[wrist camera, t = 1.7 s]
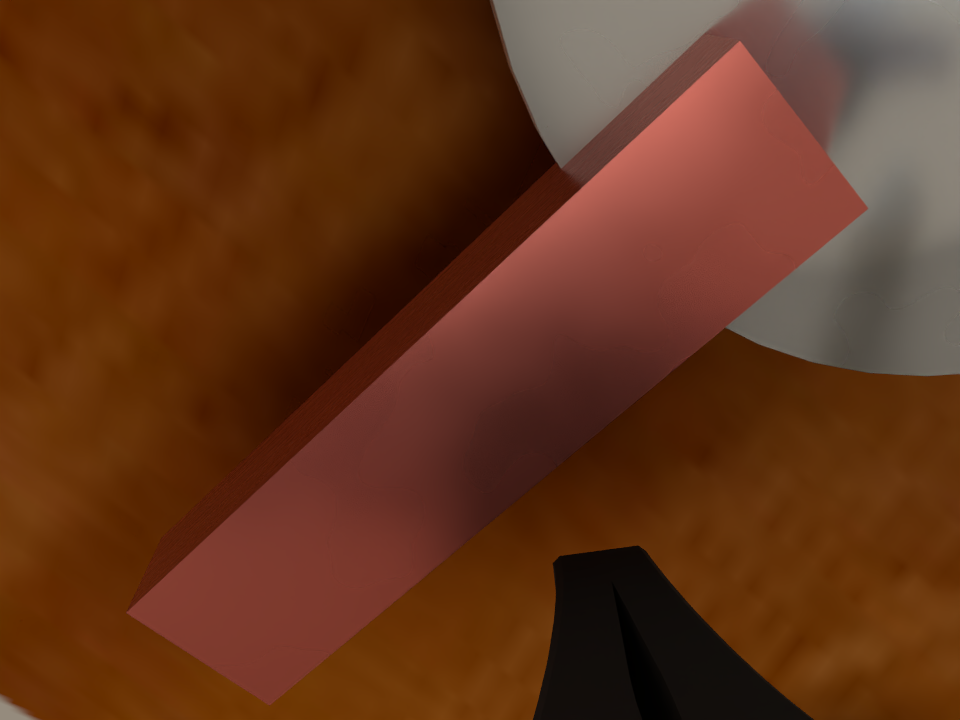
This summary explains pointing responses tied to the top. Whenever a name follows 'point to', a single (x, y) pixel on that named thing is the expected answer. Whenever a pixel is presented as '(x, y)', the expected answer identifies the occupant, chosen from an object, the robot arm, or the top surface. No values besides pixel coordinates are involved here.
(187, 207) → the top surface
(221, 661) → the lid
